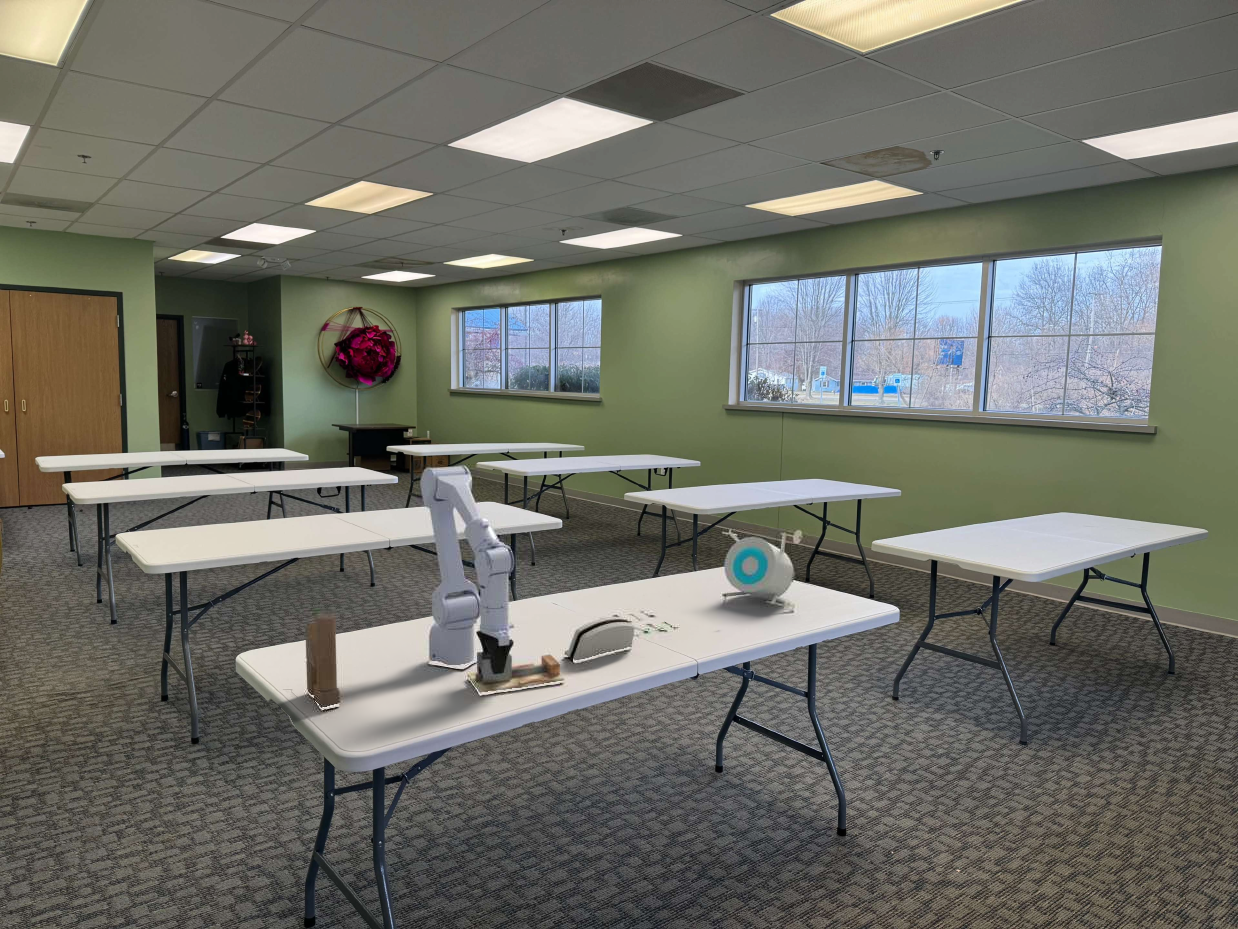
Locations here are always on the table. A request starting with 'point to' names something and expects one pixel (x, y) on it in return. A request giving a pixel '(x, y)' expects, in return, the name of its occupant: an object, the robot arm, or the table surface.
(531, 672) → the rail
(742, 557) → the satellite
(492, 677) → the clip
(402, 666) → the table surface
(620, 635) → the grey rounded block
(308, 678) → the wooden block
